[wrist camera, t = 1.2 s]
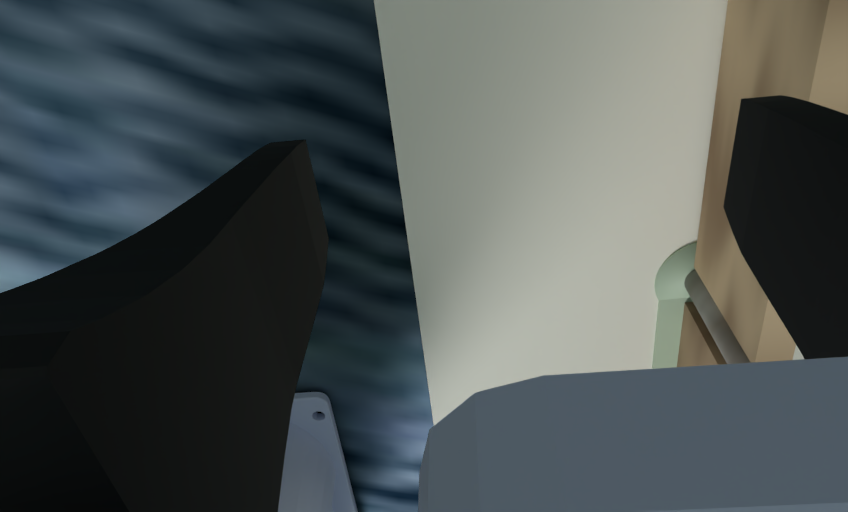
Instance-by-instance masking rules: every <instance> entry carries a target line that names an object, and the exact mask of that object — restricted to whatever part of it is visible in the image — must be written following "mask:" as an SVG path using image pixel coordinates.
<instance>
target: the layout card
mask: <svg viewBox="0 0 848 512" xmlns="http://www.w3.org/2000/svg"><path fill="white" fill-rule="evenodd" d="M374 5H375V12H376V19H377V26H378V33H379V40H380V47H381V54H382V62H383V69H384V76H385V83H386V90H387V97H388V104H389V111H390V118H391V125H392V132H393V139H394V147H395V154H396V161H397V168H398V175H399V182H400V189H401V196H402V203H403V210H404V217H405V224H406V232H407V239H408V246H409V253H410V260H411V267H412V274H413V281H414V288H415V295H416V302H417V310H418V317H419V324H420V331H421V338H422V345H423V352H424V359H425V366H426V373H427V380H428V387H429V395H430V402H431V409H432V416H433V423H434V425H436V424H437V423H438V422H439V421H441V420H442V419H443V418H444V417H446V416H447V415H448V414H449V413H451V412H452V411H453V410H454V409H456V408H457V407H458V406H459V405H460V404H462V403H463V402H464V401H465V400H467V399H468V398H469V397H470V396H472V395H473V394H474V393H476V392H479V391H483V390H487V389H491V388H494V387H498V386H502V385H506V384H510V383H514V382H518V381H522V380H526V379H530V378H534V377H538V376H542V375H558V374H574V373H590V372H606V371H623V370H639V369H655V368H671V367H677V361H678V353H679V345H680V337H681V329H682V321H683V313H684V304H685V302H693V301H692V299H691V297H690V296H689V294H688V292H687V290H686V288H685V285H684V282H685V278H686V276H687V275H688V274H689V273H690V272H691V271H692V270H694V269H695V268H694V262H695V254H696V246H697V238H698V231H699V223H700V215H701V207H702V199H703V192H704V184H705V176H706V168H707V160H708V153H709V145H710V137H711V129H712V122H713V114H714V106H715V98H716V90H717V83H718V75H719V67H720V59H721V51H722V44H723V36H724V28H725V20H726V12H727V5H728V0H374ZM801 359H804V357H803V355H802V354H801V352H800V350H799V348H798V347H797V345H796V347H795V351H794V356H793V360H801Z"/></svg>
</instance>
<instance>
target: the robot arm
mask: <svg viewBox="0 0 848 512" xmlns="http://www.w3.org/2000/svg"><path fill="white" fill-rule="evenodd" d="M723 208H724V210H725V213H726V216H727V219H728V221H729V224H730V227H731V230H732V232H733V235H734V237H735V240H736V242H737V244H738V247H739V249H740V252H741V254H742V255H743V257H744V259H745V261H746V263H747V264H748V266H749V268H750V269H751V271H752V273H753V274H754V276H755V278H756V279H757V281H758V283H759V284H760V286H761V288H762V289H763V291H764V293H765V294H766V296H767V298H768V299H769V301H770V303H771V304H772V306H773V307H774V309H775V311H776V312H777V314H778V316H779V317H780V319H781V321H782V322H783V324H784V325H785V327H786V329H787V330H788V332H789V334H790V335H791V337H792V339H793V340H794V342H795V344H796V345H797V347H798V348H799V350H800V352H801V354H802V355H803V357H804V359H801V360H785V361H769V362H752V363H736V364H720V365H704V366H688V367H671V368H655V369H639V370H623V371H606V372H590V373H574V374H558V375H542V376H538V377H534V378H530V379H526V380H522V381H518V382H514V383H510V384H506V385H502V386H498V387H494V388H491V389H487V390H483V391H479V392H476V393H474V394H473V395H472V396H470V397H469V398H468V399H467V400H465V401H464V402H463V403H462V404H460V405H459V406H458V407H457V408H456V409H454V410H453V411H452V412H451V413H449V414H448V415H447V416H446V417H444V418H443V419H442V420H441V421H439V422H438V423H437V424H436V425H434V426H433V427H432V428H431V429H430V430H429V434H428V438H427V442H426V447H425V451H424V455H423V459H422V464H421V468H420V475H419V504H418V512H848V115H847V114H844V113H841V112H839V111H836V110H833V109H830V108H827V107H824V106H821V105H818V104H815V103H812V102H808V101H805V100H801V99H798V98H793V97H788V96H783V95H777V96H766V97H756V98H745V99H741V103H740V109H739V115H738V121H737V127H736V133H735V139H734V145H733V151H732V157H731V163H730V169H729V175H728V181H727V187H726V193H725V199H724V205H723ZM328 241H329V238H328V234H327V229H326V225H325V221H324V216H323V212H322V208H321V204H320V199H319V195H318V191H317V187H316V182H315V178H314V174H313V169H312V165H311V161H310V157H309V152H308V148H307V144H306V140H295V141H285V142H274V143H269V144H267V145H265V146H264V147H262V148H260V149H259V150H257V151H256V152H254V153H253V154H251V155H250V156H249V157H247V158H246V159H244V160H243V161H242V162H240V163H239V164H238V165H236V166H235V167H234V168H232V169H231V170H230V171H228V172H227V173H225V174H224V175H223V176H221V177H220V178H219V179H217V180H216V181H215V182H213V183H212V184H211V185H209V186H208V187H207V188H205V189H204V190H202V191H201V192H200V193H198V194H197V195H195V196H194V197H192V198H191V199H189V200H188V201H186V202H185V203H183V204H182V205H180V206H179V207H177V208H176V209H174V210H173V211H171V212H170V213H168V214H167V215H165V216H164V217H162V218H161V219H159V220H158V221H156V222H154V223H153V224H151V225H149V226H148V227H146V228H144V229H142V230H141V231H139V232H137V233H136V234H134V235H132V236H130V237H128V238H126V239H124V240H122V241H121V242H119V243H117V244H115V245H113V246H111V247H109V248H107V249H105V250H103V251H101V252H99V253H97V254H95V255H93V256H90V257H88V258H86V259H84V260H81V261H79V262H77V263H75V264H72V265H70V266H68V267H66V268H63V269H61V270H59V271H57V272H54V273H52V274H50V275H47V276H45V277H43V278H40V279H38V280H35V281H32V282H30V283H27V284H24V285H22V286H19V287H16V288H14V289H11V290H8V291H5V292H2V293H0V512H358V511H357V507H356V503H355V499H354V495H353V491H352V487H351V483H350V479H349V475H348V471H347V467H346V463H345V459H344V455H343V451H342V447H341V443H340V439H339V435H338V431H337V427H336V423H335V419H334V415H333V411H332V407H331V403H330V399H329V398H328V396H327V395H325V394H324V393H321V392H304V393H295V391H296V386H297V382H298V378H299V375H300V371H301V367H302V364H303V360H304V356H305V353H306V349H307V345H308V342H309V338H310V334H311V331H312V327H313V324H314V320H315V316H316V312H317V309H318V305H319V301H320V297H321V293H322V289H323V285H324V278H325V270H326V262H327V251H328ZM317 411H319V412H322V413H321V414H320V413H316V412H317Z"/></svg>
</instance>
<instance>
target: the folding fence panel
mask: <svg viewBox="0 0 848 512" xmlns="http://www.w3.org/2000/svg"><path fill="white" fill-rule="evenodd" d="M777 95H783V96H788V97H793V98H798V99H801V100H805V101H808V102H812V103H815V104H818V105H821V106H824V107H827V108H830V109H833V110H836V111H839V112H841V113H844V114H847V115H848V0H728V5H727V12H726V20H725V28H724V36H723V44H722V51H721V59H720V67H719V75H718V83H717V90H716V98H715V106H714V114H713V122H712V129H711V137H710V145H709V153H708V160H707V168H706V176H705V184H704V192H703V199H702V207H701V215H700V223H699V231H698V238H697V246H696V254H695V262H694V268H695V270H696V271H697V273H698V275H699V276H700V278H701V280H702V282H703V283H704V285H705V287H706V288H707V290H708V292H709V293H710V295H711V297H712V298H713V300H714V302H715V303H716V305H717V307H718V308H719V310H720V312H721V313H722V315H723V317H724V319H725V320H726V322H727V324H728V325H729V327H730V329H731V330H732V332H733V334H734V335H735V337H736V339H737V340H738V342H739V344H740V345H741V347H742V349H743V350H744V352H745V354H746V355H747V357H748V359H749V361H750V362H751V363H752V362H769V361H785V360H793V356H794V351H795V347H796V344H795V342H794V340H793V339H792V337H791V335H790V334H789V332H788V330H787V329H786V327H785V325H784V324H783V322H782V321H781V319H780V317H779V316H778V314H777V312H776V311H775V309H774V307H773V306H772V304H771V303H770V301H769V299H768V298H767V296H766V294H765V293H764V291H763V289H762V288H761V286H760V284H759V283H758V281H757V279H756V278H755V276H754V274H753V273H752V271H751V269H750V268H749V266H748V264H747V263H746V261H745V259H744V257H743V255H742V254H741V252H740V249H739V247H738V244H737V242H736V240H735V237H734V235H733V232H732V230H731V227H730V224H729V221H728V219H727V216H726V213H725V210H724V208H723V205H724V199H725V193H726V187H727V181H728V175H729V169H730V163H731V157H732V151H733V145H734V139H735V133H736V127H737V121H738V115H739V109H740V103H741V99H745V98H756V97H766V96H777Z"/></svg>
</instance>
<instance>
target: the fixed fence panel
mask: <svg viewBox="0 0 848 512" xmlns="http://www.w3.org/2000/svg"><path fill="white" fill-rule="evenodd" d="M684 285H685V288H686V290H687V292H688V294H689V296H690V297H691V299H692V301H693V302H685V304H684V313H683V321H682V329H681V337H680V345H679V353H678V361H677V367H688V366H704V365H720V364H736V363H751V362H750V361H749V359H748V357H747V355H746V354H745V352H744V350H743V349H742V347H741V345H740V344H739V342H738V340H737V339H736V337H735V335H734V334H733V332H732V330H731V329H730V327H729V325H728V324H727V322H726V320H725V319H724V317H723V315H722V313H721V312H720V310H719V308H718V307H717V305H716V303H715V302H714V300H713V298H712V297H711V295H710V293H709V292H708V290H707V288H706V287H705V285H704V283H703V282H702V280H701V278H700V276H699V275H698V273H697V271H696V270H695V269H694V270H692V271H691V272H690V273H689V274H688V275H687V276H686V278H685V282H684Z"/></svg>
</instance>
